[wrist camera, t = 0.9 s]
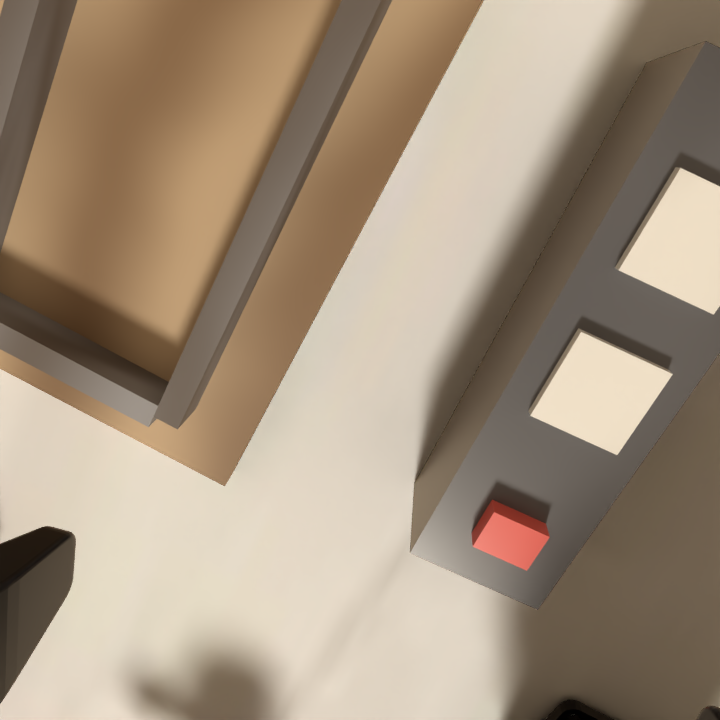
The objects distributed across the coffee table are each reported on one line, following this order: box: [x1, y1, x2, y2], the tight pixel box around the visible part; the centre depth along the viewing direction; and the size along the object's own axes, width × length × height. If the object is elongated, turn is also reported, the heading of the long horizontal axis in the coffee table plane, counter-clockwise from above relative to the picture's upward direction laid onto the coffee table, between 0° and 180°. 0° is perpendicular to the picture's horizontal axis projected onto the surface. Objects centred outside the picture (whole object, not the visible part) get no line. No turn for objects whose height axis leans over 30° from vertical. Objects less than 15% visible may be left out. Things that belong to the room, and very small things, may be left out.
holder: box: [0, 0, 484, 486], centre depth 16 cm, size 12×22×2 cm, turn 152°
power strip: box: [410, 41, 720, 610], centre depth 17 cm, size 4×14×5 cm, turn 157°
